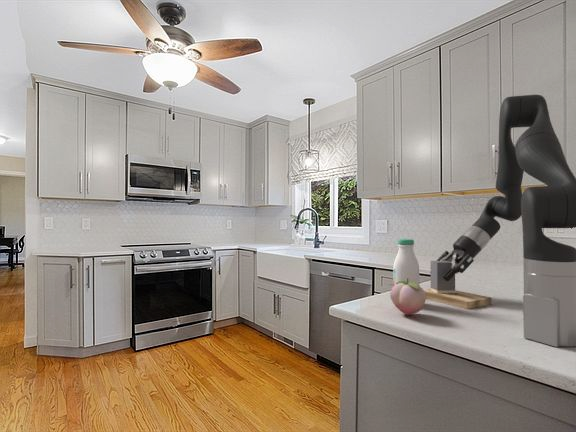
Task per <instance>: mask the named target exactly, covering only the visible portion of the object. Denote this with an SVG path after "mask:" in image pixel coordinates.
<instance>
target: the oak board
mask: <svg viewBox="0 0 576 432" xmlns="http://www.w3.org/2000/svg"><path fill="white" fill-rule="evenodd" d="M423 290H424V292H425V294H426V300H429V299H430V301H434V302H437V301H438V302H439V303H441V304H446V305H451V306H454V307H457V308H462V309H465V310H468V309H474V308H479V307H484V306H489V305H492V297H490V296H486V295H485V296H484V295H480V294H476V293H471V292H466V291H461V290H456V289H455V293H436V292H434V291H431V288H430V289H423Z"/></svg>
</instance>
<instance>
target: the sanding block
mask: <svg viewBox="0 0 576 432" xmlns="http://www.w3.org/2000/svg"><path fill="white" fill-rule="evenodd" d="M451 266H452V263H451V262H449V261H441V260H440V261H436V260H430V272H431V274H430V289H431V291H434V292H436V293H455V290H456V274H455V275H454V276H453V277H452V278H451V279H450V280H449V281H446V280H445V279H444V278H443V277H442V276H443V275H444V274H445V273H446V272H447V271H448V270H449V269H451Z"/></svg>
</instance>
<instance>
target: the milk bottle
mask: <svg viewBox="0 0 576 432" xmlns="http://www.w3.org/2000/svg"><path fill="white" fill-rule="evenodd" d="M397 245H398V252H397V254H396V257H395V259H394V262H393V268H392V269H393V270H392V288H393V287H394V286H395V285H396V283H397V282H399V281H406V282H407V278H408V282H409V283H416V284H417V285H419V286H420V287H421V285H420V265H419V264H420V263H419V260H418V259H417V257H416V254H415V252H414V251H415V250H414V247H415V240H414V239H412V238H399V239H398V240H397Z"/></svg>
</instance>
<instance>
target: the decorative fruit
mask: <svg viewBox="0 0 576 432" xmlns="http://www.w3.org/2000/svg"><path fill="white" fill-rule="evenodd" d="M424 290H425V289H424V288H423V287H422V286H421V285H420V286H419V285H417V284H416V283H409V282H408V278H407V282H406V281H399V282H397V283H396V285H395V286H394V287H393V286H392V288H391V290H390V295H389V296H390V299H391V301H392V303H393V305H394V307H396V308H397V310H399V311H400V312H402V314H404V315H406V316H411V315H414V314H416V313H419V312H420V311H421V310H422V309H423V308H424V306H425V303H426V301H427V299H426V294H425V292H424Z"/></svg>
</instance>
